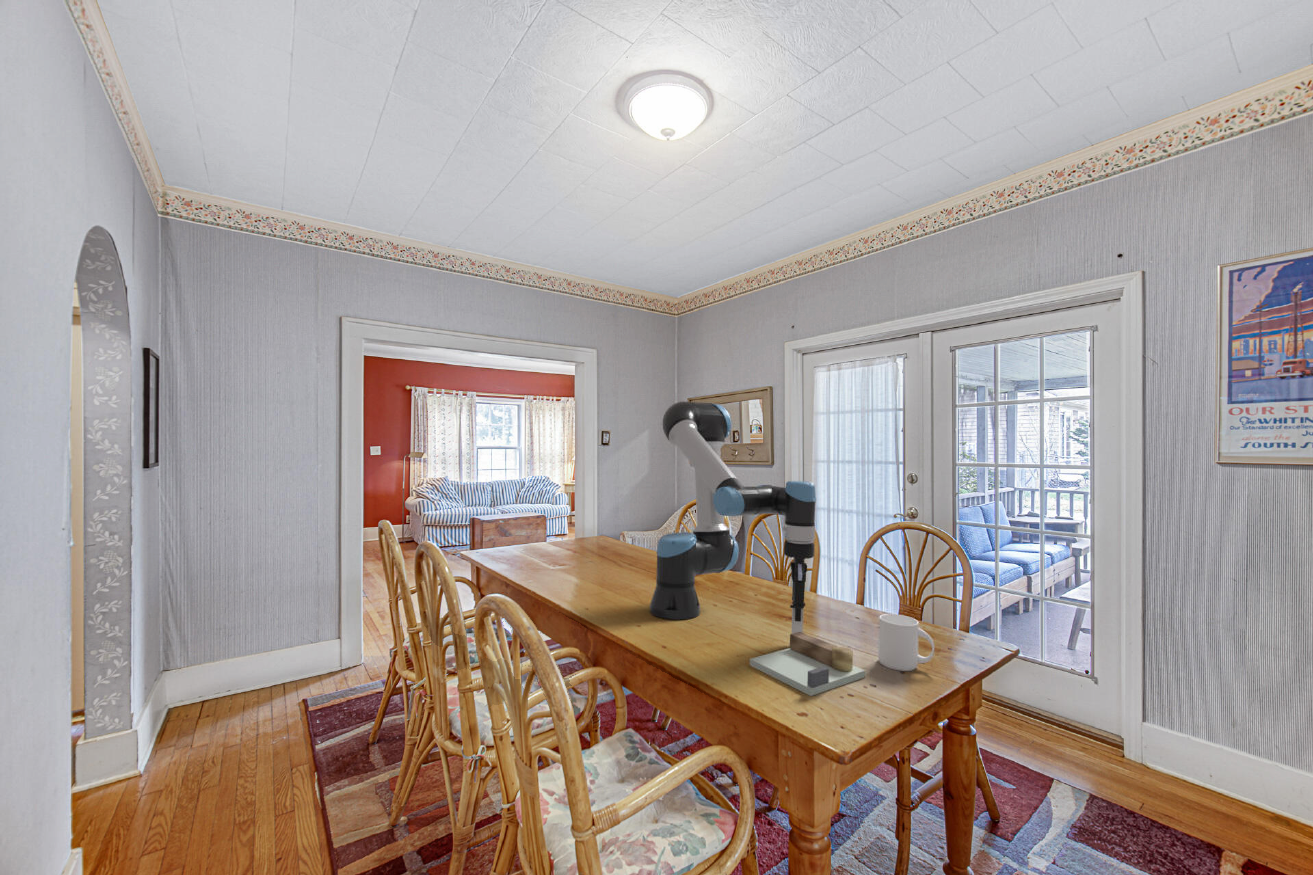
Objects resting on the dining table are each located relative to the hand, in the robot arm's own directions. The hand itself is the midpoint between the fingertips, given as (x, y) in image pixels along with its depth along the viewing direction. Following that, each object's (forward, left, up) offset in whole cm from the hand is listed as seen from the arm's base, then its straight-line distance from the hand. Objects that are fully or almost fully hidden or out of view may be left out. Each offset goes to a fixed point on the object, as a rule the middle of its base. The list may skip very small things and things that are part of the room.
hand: (797, 632), depth 142 cm
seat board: (+13, -11, -3) cm, 17 cm away
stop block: (+21, -17, -2) cm, 27 cm away
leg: (+12, -5, -1) cm, 14 cm away
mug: (+23, +12, -3) cm, 26 cm away
